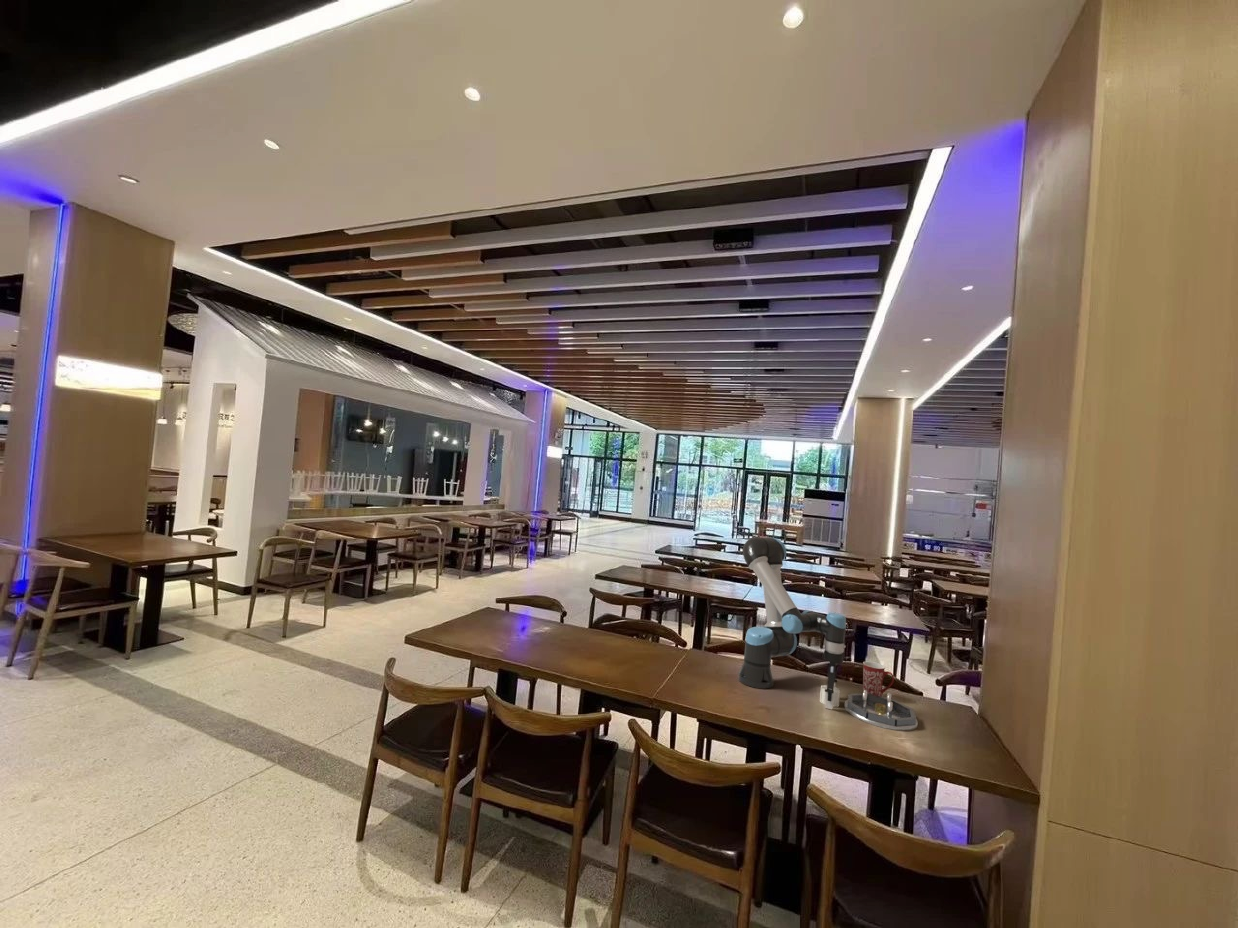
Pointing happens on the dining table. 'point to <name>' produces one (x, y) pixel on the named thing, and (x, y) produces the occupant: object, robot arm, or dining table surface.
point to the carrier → (881, 711)
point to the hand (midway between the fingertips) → (829, 703)
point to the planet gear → (835, 696)
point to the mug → (874, 678)
